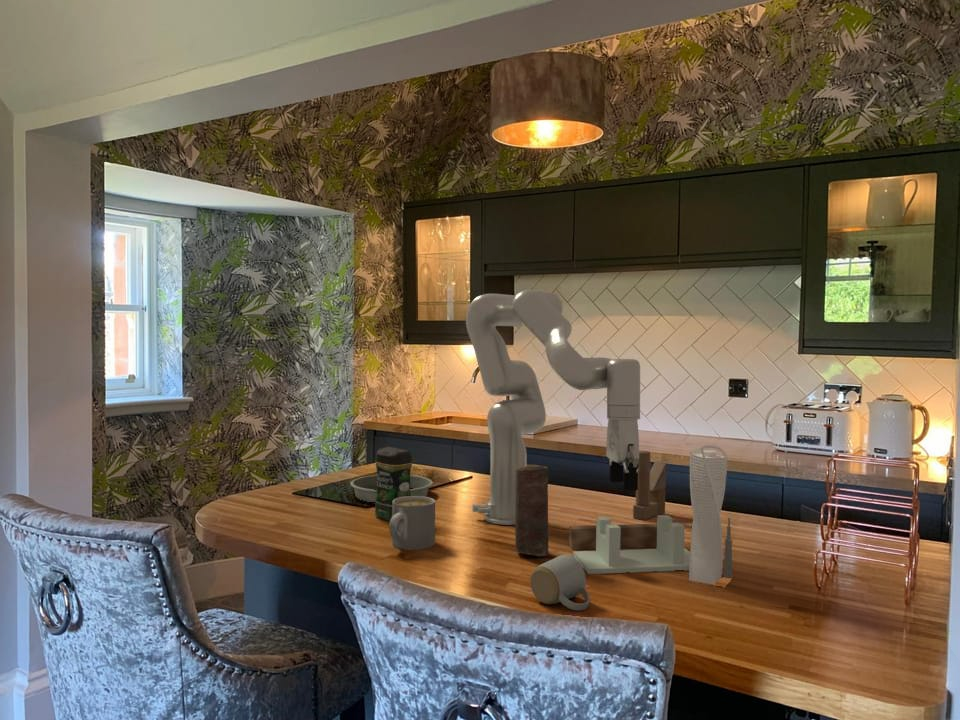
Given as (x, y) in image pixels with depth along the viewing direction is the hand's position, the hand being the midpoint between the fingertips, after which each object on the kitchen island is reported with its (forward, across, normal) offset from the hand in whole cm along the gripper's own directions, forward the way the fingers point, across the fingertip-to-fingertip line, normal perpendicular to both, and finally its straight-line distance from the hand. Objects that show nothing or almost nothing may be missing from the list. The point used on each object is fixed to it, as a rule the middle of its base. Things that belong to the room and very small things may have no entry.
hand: (623, 486), depth 166 cm
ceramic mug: (+15, +32, -22) cm, 41 cm away
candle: (+14, +3, -22) cm, 27 cm away
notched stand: (+14, +11, 0) cm, 18 cm away
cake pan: (+13, -58, -52) cm, 79 cm away
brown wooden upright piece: (+14, -27, +16) cm, 34 cm away
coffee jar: (+13, -32, -52) cm, 63 cm away
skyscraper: (+15, +23, +10) cm, 29 cm away
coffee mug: (+14, -7, -50) cm, 52 cm away
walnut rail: (+14, -1, 0) cm, 15 cm away
